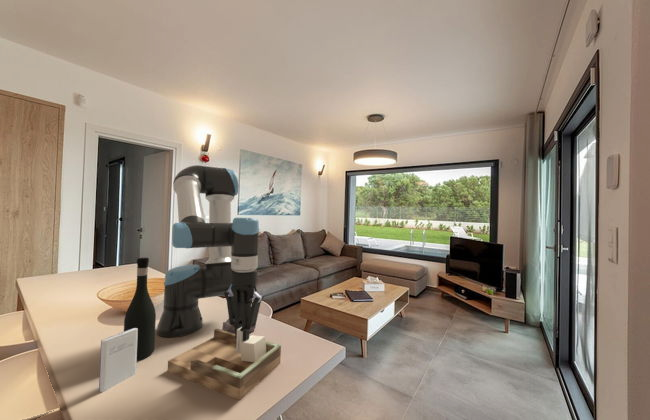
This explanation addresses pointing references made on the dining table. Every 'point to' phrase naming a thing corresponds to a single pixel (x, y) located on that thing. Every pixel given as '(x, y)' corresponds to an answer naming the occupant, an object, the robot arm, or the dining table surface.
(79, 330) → the dining table surface
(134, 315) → the wine bottle
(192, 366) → the wooden tray
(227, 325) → the rock
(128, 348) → the hard drive
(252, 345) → the block
